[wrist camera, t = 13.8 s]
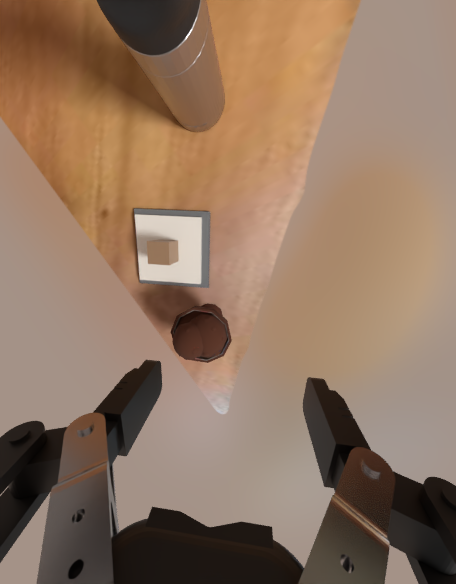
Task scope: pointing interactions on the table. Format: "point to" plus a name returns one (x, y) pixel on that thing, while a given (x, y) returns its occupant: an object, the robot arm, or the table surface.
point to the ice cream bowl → (201, 334)
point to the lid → (169, 248)
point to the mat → (205, 242)
